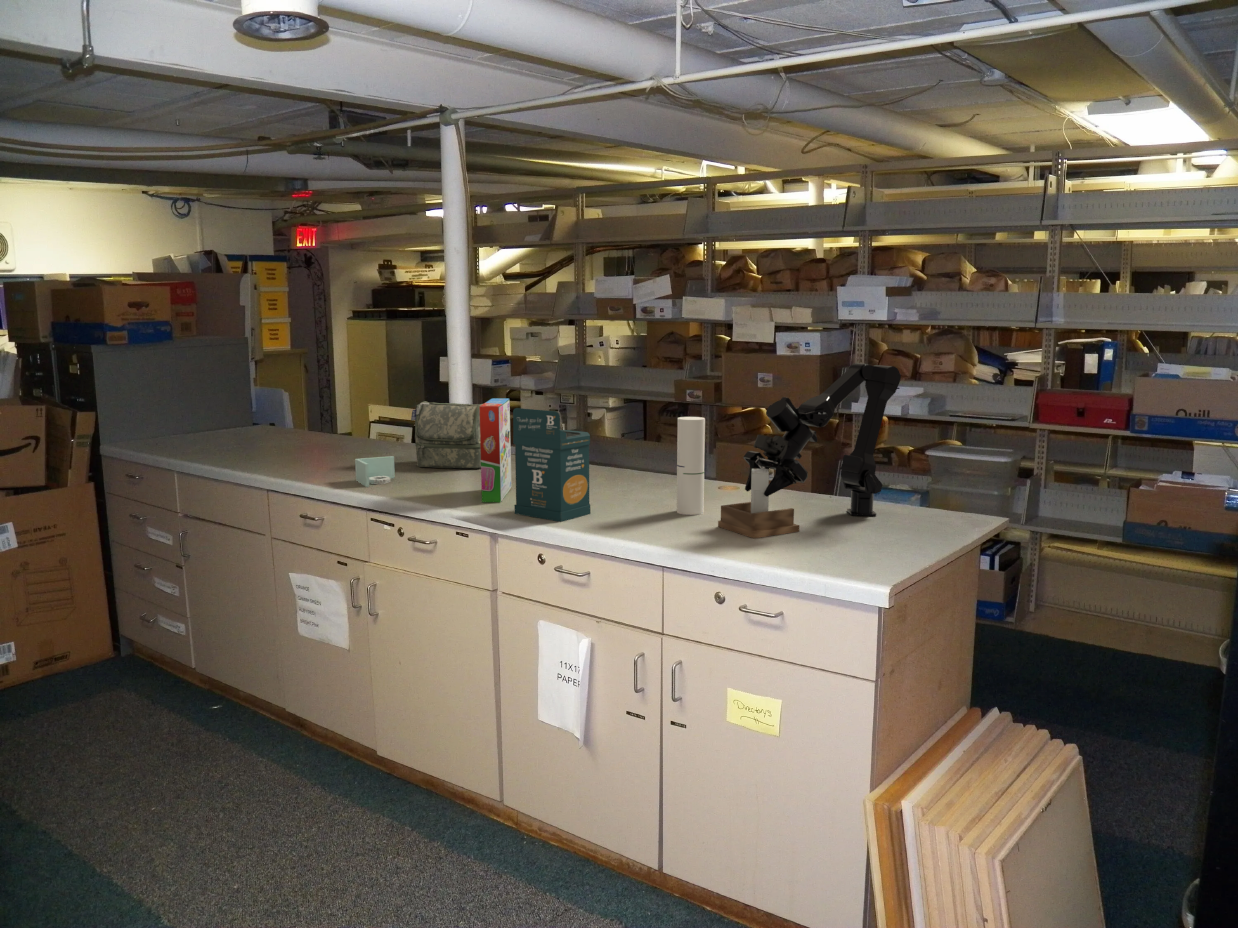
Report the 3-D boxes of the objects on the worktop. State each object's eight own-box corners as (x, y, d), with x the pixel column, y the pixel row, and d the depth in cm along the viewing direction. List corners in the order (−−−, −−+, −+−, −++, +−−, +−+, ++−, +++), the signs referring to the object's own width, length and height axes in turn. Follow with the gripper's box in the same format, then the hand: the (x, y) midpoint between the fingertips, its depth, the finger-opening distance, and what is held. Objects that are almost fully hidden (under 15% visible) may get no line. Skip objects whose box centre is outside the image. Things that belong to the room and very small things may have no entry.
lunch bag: (407, 468, 319) (404, 403, 315) (430, 459, 336) (428, 398, 333) (479, 471, 313) (478, 405, 309) (499, 462, 330) (497, 400, 327)
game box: (493, 488, 282) (491, 398, 278) (511, 488, 282) (510, 398, 278) (481, 502, 262) (479, 405, 257) (501, 502, 262) (499, 405, 257)
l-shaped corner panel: (366, 488, 285) (365, 464, 284) (356, 482, 295) (355, 458, 294) (405, 485, 291) (404, 461, 289) (393, 479, 301) (393, 456, 300)
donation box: (514, 513, 248) (512, 407, 243) (554, 503, 261) (553, 402, 256) (561, 522, 238) (560, 411, 234) (600, 511, 251) (600, 406, 246)
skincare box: (768, 522, 227) (770, 473, 225) (749, 521, 228) (751, 472, 225) (767, 516, 233) (769, 468, 231) (749, 515, 234) (751, 467, 231)
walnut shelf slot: (762, 520, 240) (763, 499, 239) (799, 531, 228) (800, 509, 227) (718, 526, 233) (718, 504, 232) (753, 538, 221) (754, 515, 220)
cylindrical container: (688, 508, 255) (690, 416, 251) (709, 512, 250) (710, 418, 246) (671, 511, 250) (671, 418, 246) (691, 516, 245) (692, 420, 241)
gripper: (749, 419, 236) (713, 466, 233) (799, 426, 220) (761, 478, 217) (773, 447, 242) (738, 494, 238) (824, 457, 226) (787, 507, 222)
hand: (755, 492), depth 229 cm, fingers closed on skincare box, 7 cm apart
